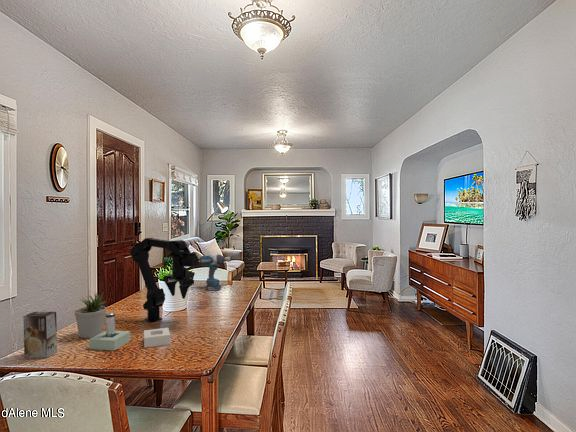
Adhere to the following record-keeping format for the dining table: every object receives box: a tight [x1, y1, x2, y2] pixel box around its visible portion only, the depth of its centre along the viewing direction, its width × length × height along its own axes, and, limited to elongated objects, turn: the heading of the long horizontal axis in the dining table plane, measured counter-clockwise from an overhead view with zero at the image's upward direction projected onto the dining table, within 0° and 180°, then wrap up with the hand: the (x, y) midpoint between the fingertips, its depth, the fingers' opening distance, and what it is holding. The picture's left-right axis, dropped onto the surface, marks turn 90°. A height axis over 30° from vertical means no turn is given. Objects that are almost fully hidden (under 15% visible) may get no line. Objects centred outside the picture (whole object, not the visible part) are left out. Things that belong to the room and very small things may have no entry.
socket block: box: [143, 327, 171, 349], centre depth 150 cm, size 10×10×4 cm
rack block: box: [88, 330, 132, 351], centre depth 148 cm, size 11×11×4 cm
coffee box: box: [22, 311, 58, 359], centre depth 137 cm, size 9×6×16 cm
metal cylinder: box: [105, 312, 116, 337], centre depth 148 cm, size 4×4×13 cm
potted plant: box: [73, 291, 107, 339], centre depth 158 cm, size 13×14×20 cm
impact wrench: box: [198, 253, 232, 292], centre depth 250 cm, size 8×23×25 cm, turn 89°
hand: (178, 297), depth 175 cm, fingers open, 9 cm apart
